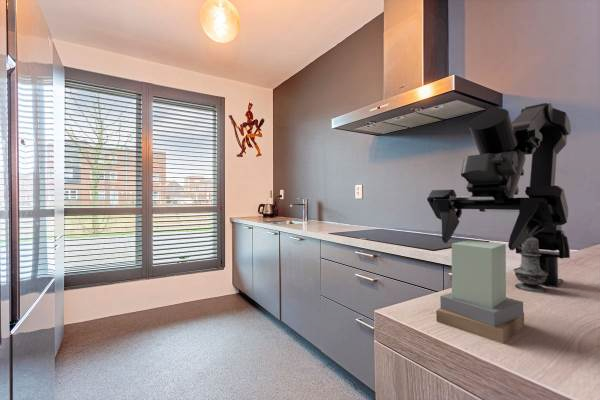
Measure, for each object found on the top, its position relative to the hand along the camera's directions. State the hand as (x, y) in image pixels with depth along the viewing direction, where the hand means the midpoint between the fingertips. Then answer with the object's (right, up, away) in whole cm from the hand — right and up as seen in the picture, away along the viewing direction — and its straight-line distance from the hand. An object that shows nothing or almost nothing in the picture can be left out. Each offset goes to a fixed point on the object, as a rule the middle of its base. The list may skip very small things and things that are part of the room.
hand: (474, 244), depth 44 cm
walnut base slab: (+1, -13, +1) cm, 13 cm away
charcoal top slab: (+1, -11, +1) cm, 11 cm away
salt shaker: (+23, -12, +18) cm, 31 cm away
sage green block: (+1, -8, +1) cm, 9 cm away
